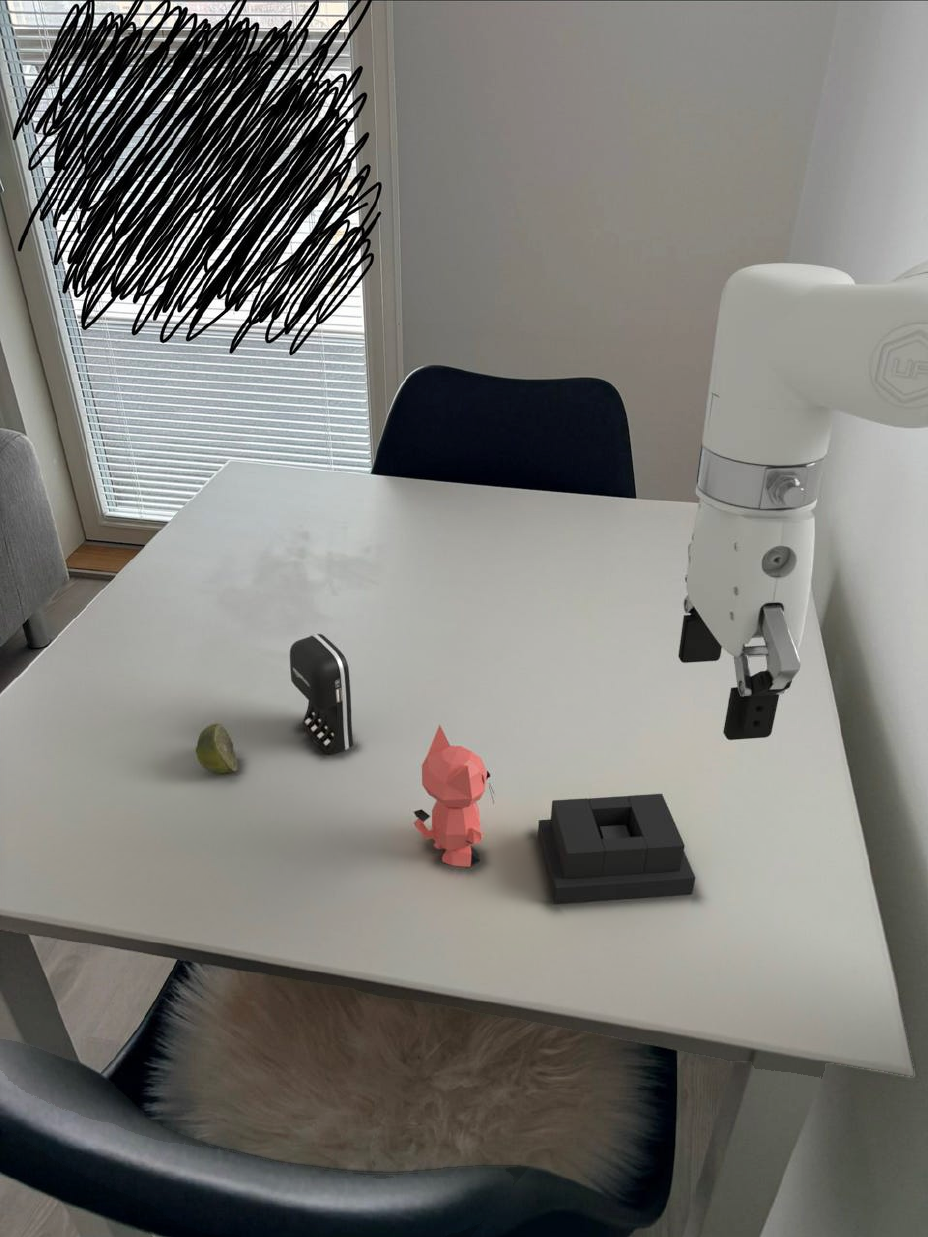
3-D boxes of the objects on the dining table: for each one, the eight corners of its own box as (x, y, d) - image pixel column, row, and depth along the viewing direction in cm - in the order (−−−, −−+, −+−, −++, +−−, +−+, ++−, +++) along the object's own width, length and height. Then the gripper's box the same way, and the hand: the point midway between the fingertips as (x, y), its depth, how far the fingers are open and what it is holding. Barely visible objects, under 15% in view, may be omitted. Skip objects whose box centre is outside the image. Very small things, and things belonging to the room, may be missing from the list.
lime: (227, 747, 91) (220, 708, 88) (254, 769, 88) (248, 729, 85) (188, 767, 88) (181, 728, 85) (216, 790, 85) (209, 750, 82)
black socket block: (657, 818, 80) (662, 793, 78) (679, 871, 74) (685, 845, 73) (549, 825, 79) (552, 800, 77) (564, 879, 73) (566, 853, 72)
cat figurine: (503, 865, 77) (509, 759, 71) (431, 889, 75) (431, 781, 69) (470, 813, 83) (473, 711, 77) (402, 834, 80) (399, 730, 74)
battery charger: (292, 727, 94) (282, 637, 88) (324, 715, 96) (316, 626, 90) (322, 762, 89) (314, 669, 83) (355, 749, 91) (350, 657, 85)
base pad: (664, 827, 82) (669, 799, 80) (692, 894, 75) (698, 865, 73) (537, 836, 80) (539, 807, 79) (554, 904, 74) (557, 875, 72)
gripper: (885, 526, 49) (824, 767, 57) (761, 430, 63) (727, 632, 72) (754, 532, 48) (712, 776, 56) (660, 434, 63) (638, 638, 71)
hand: (721, 695), depth 64 cm, fingers open, 9 cm apart
